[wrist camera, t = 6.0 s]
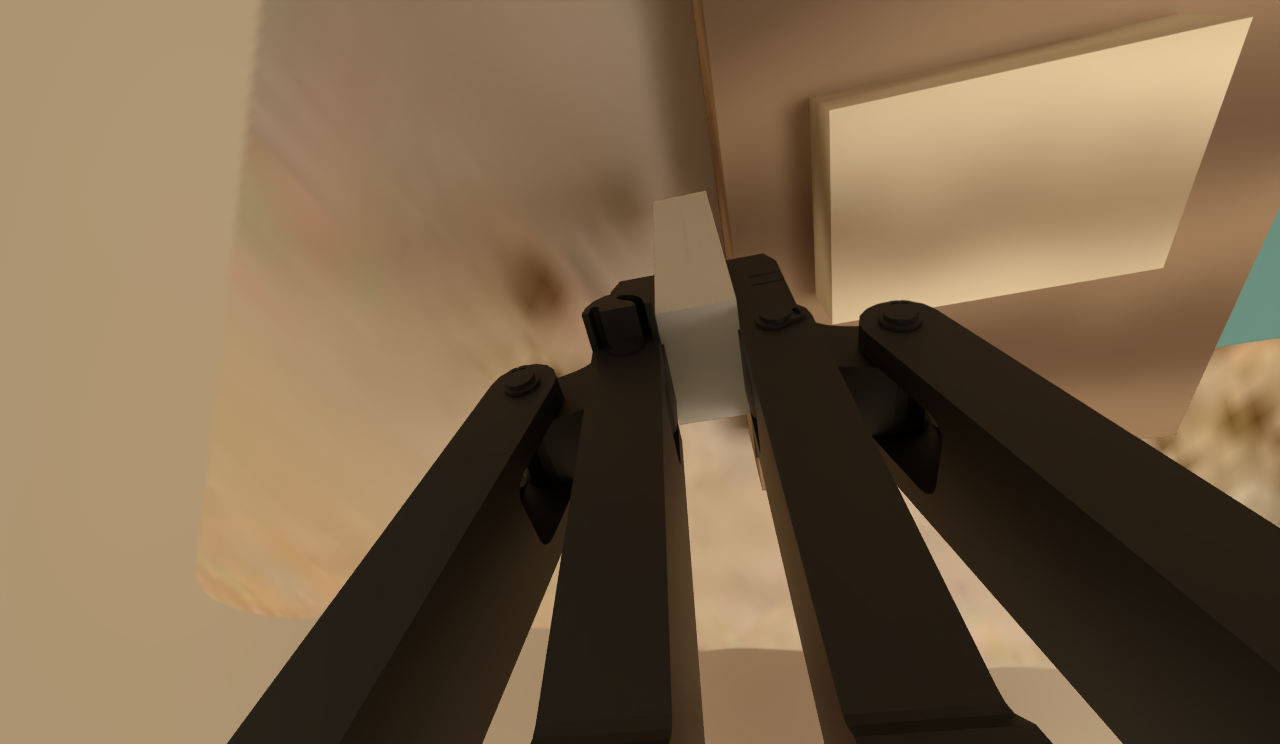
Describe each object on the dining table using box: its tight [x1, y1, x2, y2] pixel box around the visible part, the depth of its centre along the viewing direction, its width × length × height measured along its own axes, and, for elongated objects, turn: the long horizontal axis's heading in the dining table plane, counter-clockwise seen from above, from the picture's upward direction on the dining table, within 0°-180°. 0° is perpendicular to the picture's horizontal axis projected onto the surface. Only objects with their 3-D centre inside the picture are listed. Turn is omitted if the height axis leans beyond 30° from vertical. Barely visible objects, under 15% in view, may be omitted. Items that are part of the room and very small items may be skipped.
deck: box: [692, 0, 1280, 490], centre depth 17 cm, size 24×16×4 cm, turn 12°
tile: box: [809, 14, 1253, 325], centre depth 15 cm, size 6×9×2 cm, turn 102°
